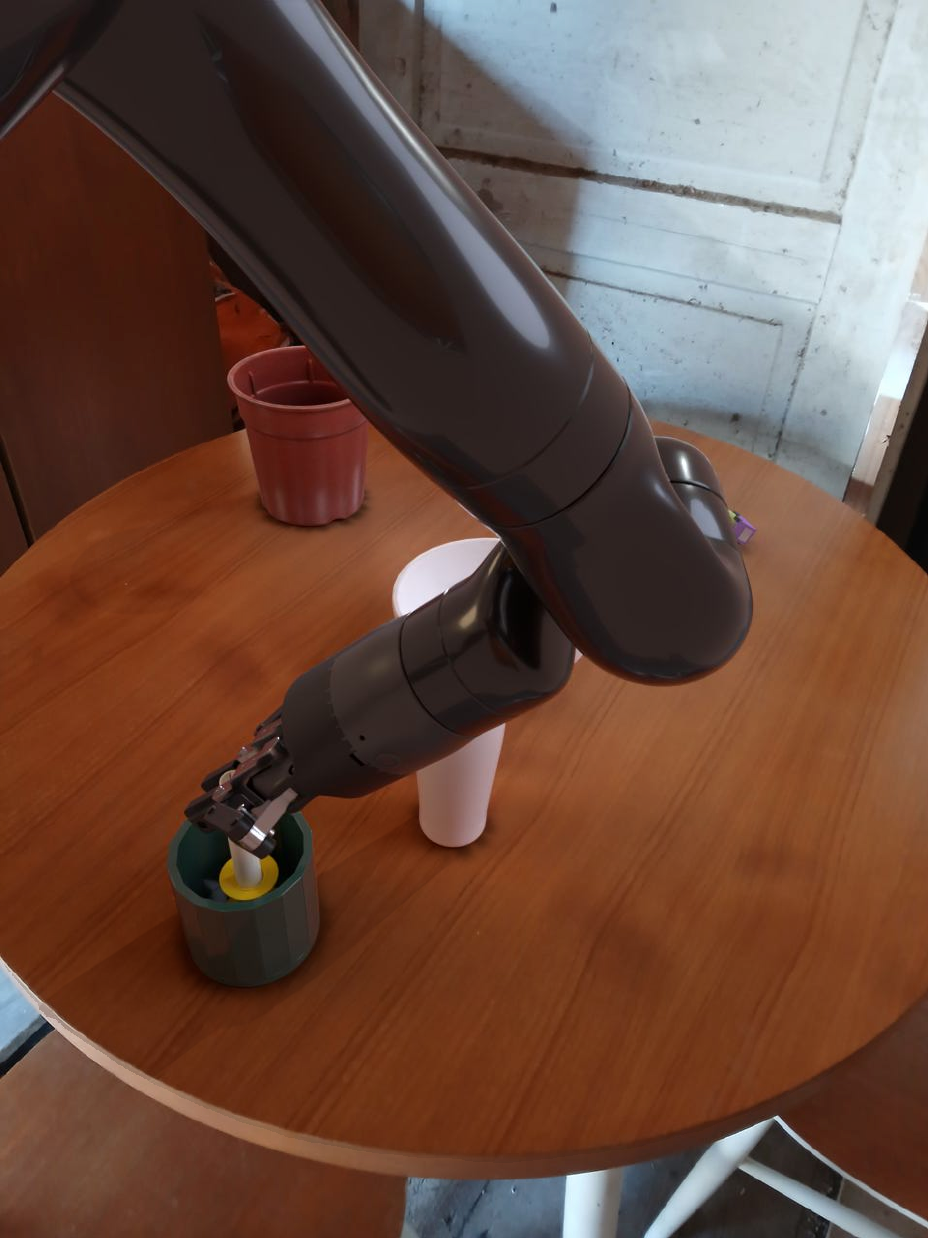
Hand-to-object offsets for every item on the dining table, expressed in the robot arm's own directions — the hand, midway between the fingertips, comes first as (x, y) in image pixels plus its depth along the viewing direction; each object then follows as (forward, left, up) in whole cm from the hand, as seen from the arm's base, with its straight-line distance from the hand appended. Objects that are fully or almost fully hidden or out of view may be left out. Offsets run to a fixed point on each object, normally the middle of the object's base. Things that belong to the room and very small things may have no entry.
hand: (205, 805), depth 57 cm
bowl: (+32, +16, -13) cm, 38 cm away
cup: (+1, -1, -13) cm, 13 cm away
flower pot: (+28, +50, -13) cm, 59 cm away
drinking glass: (+18, 0, -13) cm, 22 cm away
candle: (+2, -2, -12) cm, 12 cm away
